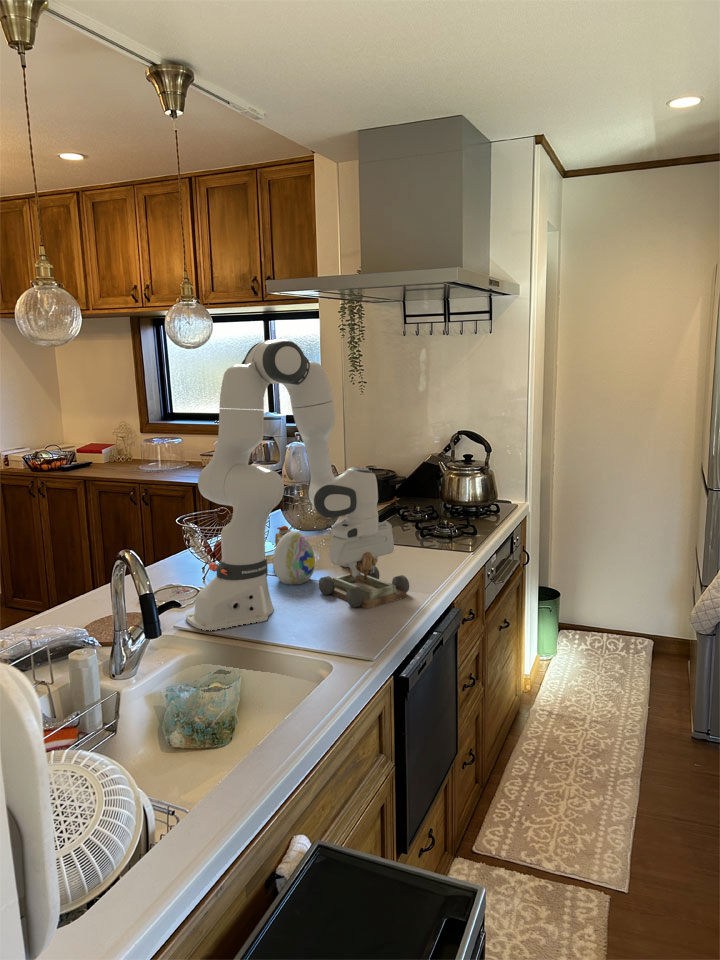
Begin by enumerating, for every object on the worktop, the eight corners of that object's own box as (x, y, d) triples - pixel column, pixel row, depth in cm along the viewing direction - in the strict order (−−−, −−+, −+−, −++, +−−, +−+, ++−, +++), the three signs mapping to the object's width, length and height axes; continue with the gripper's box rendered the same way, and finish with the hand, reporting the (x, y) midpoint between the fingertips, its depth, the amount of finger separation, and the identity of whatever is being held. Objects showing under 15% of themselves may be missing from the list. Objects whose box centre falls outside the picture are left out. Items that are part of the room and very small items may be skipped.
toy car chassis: (360, 610, 188) (359, 592, 187) (316, 591, 203) (316, 574, 202) (411, 595, 199) (411, 578, 198) (366, 578, 214) (366, 562, 213)
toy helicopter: (275, 574, 220) (274, 530, 218) (265, 556, 240) (264, 516, 238) (302, 571, 223) (300, 528, 220) (290, 554, 242) (288, 514, 240)
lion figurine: (379, 584, 198) (379, 552, 197) (362, 587, 196) (362, 555, 194) (355, 569, 211) (355, 540, 209) (339, 572, 209) (338, 542, 207)
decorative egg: (299, 589, 206) (297, 538, 203) (265, 583, 212) (263, 533, 210) (323, 577, 216) (321, 529, 213) (290, 572, 222) (288, 524, 220)
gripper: (384, 518, 206) (384, 564, 209) (325, 529, 194) (327, 579, 196) (398, 522, 201) (399, 569, 204) (339, 534, 189) (340, 584, 191)
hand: (363, 574), depth 200 cm, fingers closed on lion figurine, 4 cm apart
